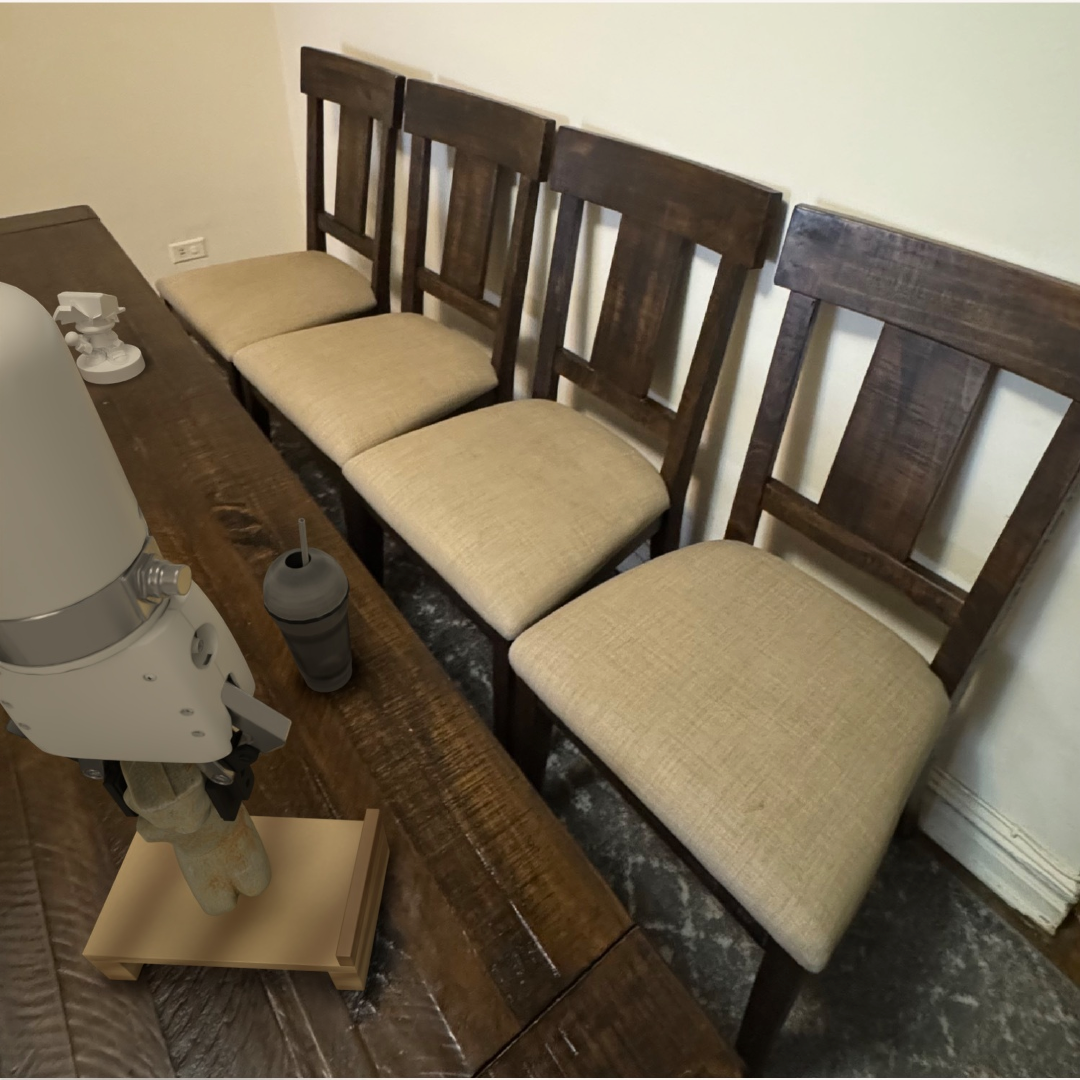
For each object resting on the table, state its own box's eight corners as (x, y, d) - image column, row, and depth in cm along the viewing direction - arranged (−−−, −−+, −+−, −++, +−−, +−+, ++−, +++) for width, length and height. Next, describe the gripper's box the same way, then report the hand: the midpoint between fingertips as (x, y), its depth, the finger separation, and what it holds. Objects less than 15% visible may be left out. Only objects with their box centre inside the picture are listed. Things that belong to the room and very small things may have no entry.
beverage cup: (306, 639, 75) (261, 484, 61) (376, 648, 74) (346, 494, 60) (277, 699, 69) (221, 544, 56) (352, 709, 69) (314, 555, 55)
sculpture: (199, 937, 47) (103, 831, 37) (175, 841, 51) (83, 722, 41) (289, 888, 49) (223, 775, 39) (259, 800, 54) (192, 677, 43)
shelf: (108, 979, 52) (68, 944, 47) (165, 840, 59) (136, 797, 55) (364, 991, 52) (350, 956, 47) (389, 850, 59) (379, 808, 55)
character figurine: (70, 382, 108) (34, 304, 100) (100, 350, 115) (69, 275, 107) (131, 385, 108) (100, 307, 100) (157, 352, 115) (130, 277, 107)
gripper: (291, 531, 34) (349, 745, 46) (-78, 515, 34) (78, 733, 47) (237, 663, 29) (319, 865, 41) (-202, 644, 29) (13, 852, 41)
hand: (190, 793), depth 44 cm, fingers closed on sculpture, 4 cm apart
